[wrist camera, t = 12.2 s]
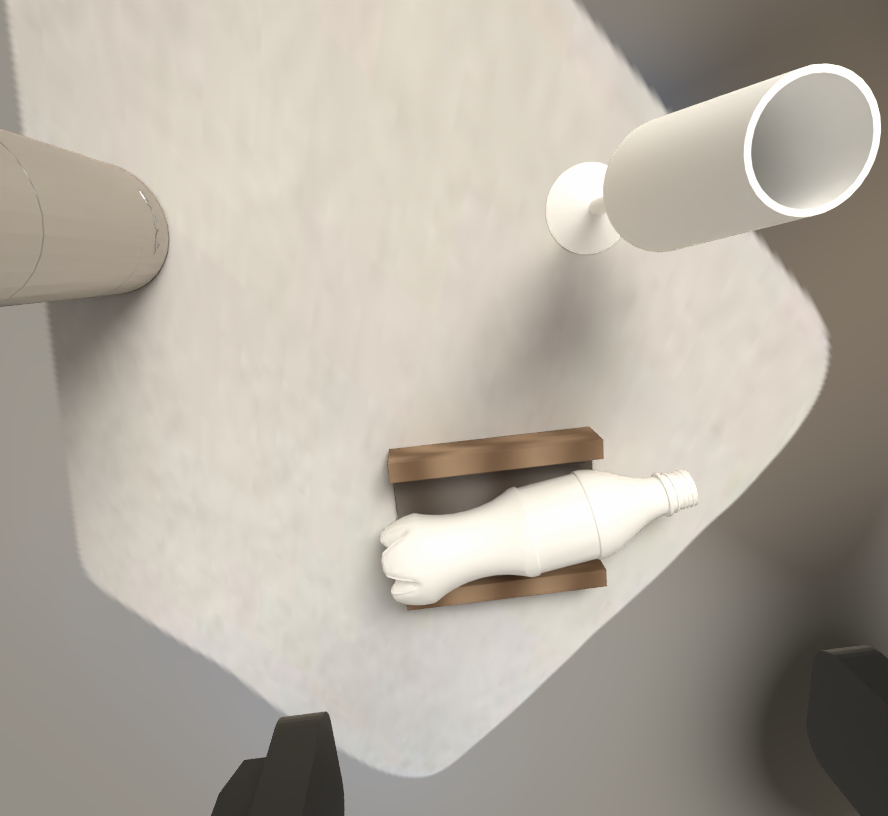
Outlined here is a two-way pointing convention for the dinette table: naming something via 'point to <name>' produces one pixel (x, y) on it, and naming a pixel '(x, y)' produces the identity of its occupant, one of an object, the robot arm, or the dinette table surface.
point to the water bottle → (527, 530)
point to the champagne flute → (724, 166)
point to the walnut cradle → (494, 496)
